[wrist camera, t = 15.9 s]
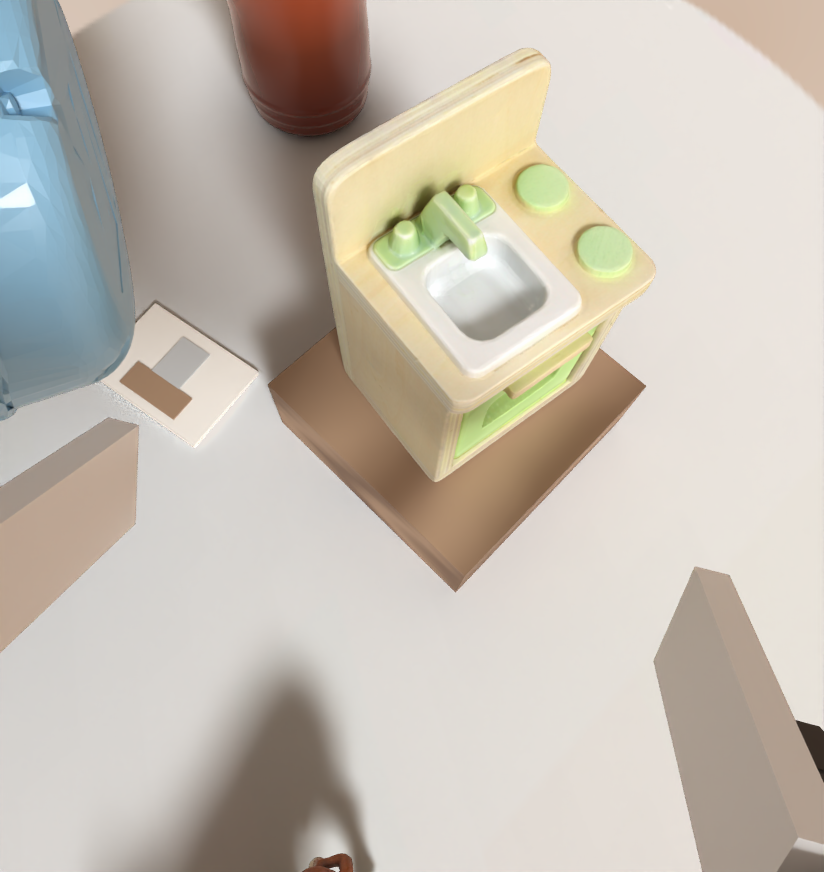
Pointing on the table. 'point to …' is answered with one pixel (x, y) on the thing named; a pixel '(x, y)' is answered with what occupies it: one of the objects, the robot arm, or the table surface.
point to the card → (179, 376)
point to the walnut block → (466, 486)
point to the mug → (304, 61)
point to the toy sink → (468, 265)
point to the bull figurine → (331, 864)
